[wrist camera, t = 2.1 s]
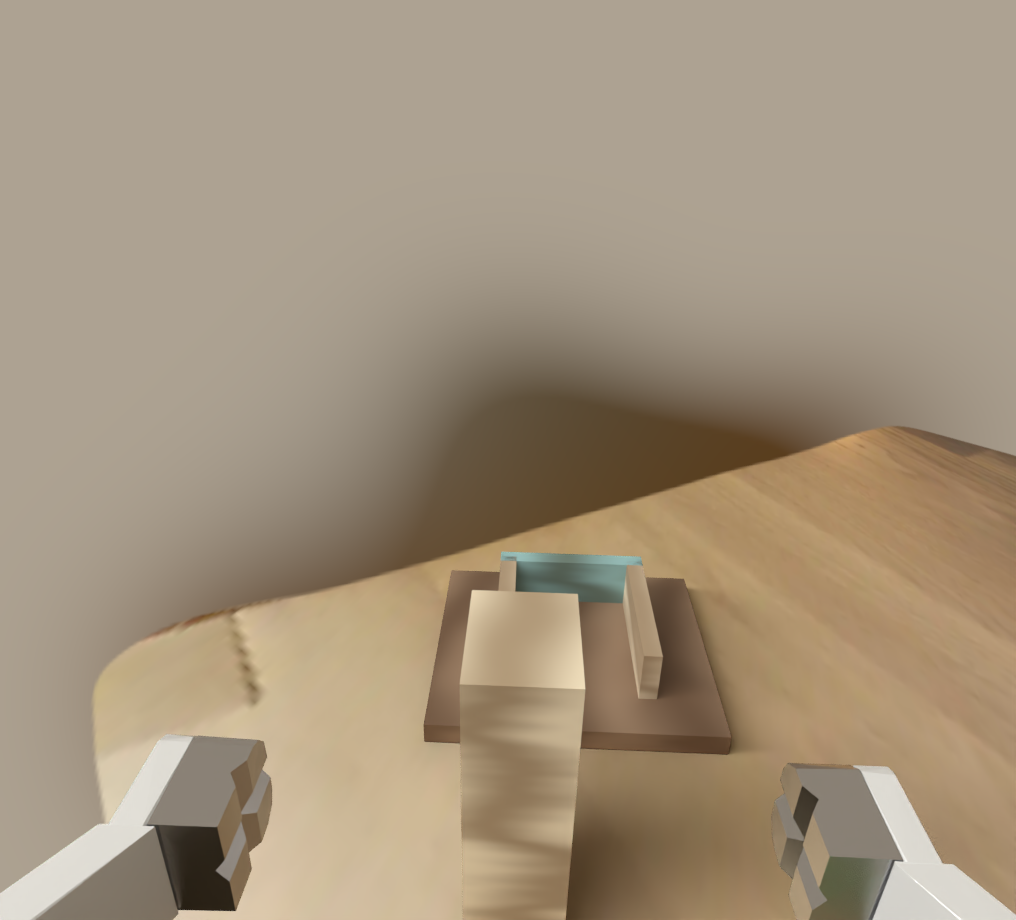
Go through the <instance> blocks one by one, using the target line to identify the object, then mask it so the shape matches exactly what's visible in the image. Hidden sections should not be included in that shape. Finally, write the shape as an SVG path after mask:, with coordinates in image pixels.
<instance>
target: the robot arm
mask: <svg viewBox="0 0 1016 920" xmlns="http://www.w3.org/2000/svg"><path fill="white" fill-rule="evenodd" d="M266 758H267V754H266V750H265V745H264V742H263V741H260V740H250V739H236V738H222V737H208V736H188V735H173V734H166V735H165V736H164V737H163V738H161V739H160V740H159V741H158V742H157V743H156V745H155V747H154V748H153V750H152V752H151V753H150V755H149V757H148V758H147V760H146V762H145V763H144V765H143V767H142V768H141V770H140V772H139V773H138V775H137V777H136V779H135V780H134V782H133V784H132V785H131V787H130V789H129V790H128V792H127V794H126V795H125V797H124V799H123V800H122V802H121V804H120V805H119V807H118V809H117V810H116V812H115V814H114V815H113V817H112V819H111V820H110V822H109V824H98V825H96V826H95V827H94V828H92V829H91V830H89V831H88V832H86V833H85V834H84V835H82V836H81V837H79V838H78V839H76V840H75V841H74V842H72V843H71V844H69V845H68V846H67V847H65V848H64V849H62V850H61V851H59V852H58V853H57V854H55V855H54V856H52V857H51V858H50V859H48V860H47V861H45V862H44V863H42V864H41V865H40V866H38V867H37V868H35V869H34V870H33V871H31V872H30V873H28V874H27V875H25V876H24V877H23V878H21V879H20V880H18V881H17V882H16V883H14V884H13V885H11V886H10V887H8V888H7V889H6V890H4V891H3V892H1V893H0V920H173V919H174V918H175V917H176V916H177V915H178V910H205V911H236V909H237V906H238V904H239V901H240V898H241V896H242V893H243V891H244V888H245V885H246V883H247V880H248V877H249V875H250V872H251V869H252V867H251V862H250V856H249V852H250V851H251V850H252V849H254V848H255V847H256V846H257V845H258V844H259V843H261V842H262V840H263V837H264V834H265V831H266V828H267V825H268V821H269V816H270V811H271V806H272V785H271V778H270V777H269V776H268V775H267V774H266V773H265V772H264V771H263V770H262V768H263V766H264V763H265V761H266ZM780 781H781V784H782V787H783V790H784V792H785V793H784V794H783V795H781V796H780V797H779V798H778V799H776V800H775V802H774V807H773V812H772V838H773V844H774V849H775V853H776V856H777V860H778V863H779V866H780V867H781V868H782V869H783V870H784V871H785V872H786V873H787V874H788V875H789V876H790V877H791V878H792V879H793V880H792V884H791V888H790V891H789V898H790V901H791V904H792V907H793V910H794V913H795V916H796V920H1016V915H1015V914H1014V913H1013V912H1012V911H1011V910H1009V909H1008V908H1007V907H1006V906H1004V905H1003V904H1002V903H1001V902H999V901H998V900H997V899H996V898H994V897H993V896H992V895H991V894H989V893H988V892H987V891H986V890H985V889H983V888H982V887H981V886H980V885H978V884H977V883H976V882H975V881H973V880H972V879H971V878H970V877H968V876H967V875H966V874H965V873H963V872H962V871H961V870H960V869H959V868H957V867H956V866H955V865H954V864H943V862H942V861H941V859H940V857H939V855H938V853H937V851H936V849H935V848H934V846H933V844H932V842H931V840H930V838H929V836H928V835H927V833H926V831H925V829H924V827H923V825H922V824H921V822H920V820H919V818H918V816H917V814H916V812H915V811H914V809H913V807H912V805H911V803H910V801H909V799H908V798H907V796H906V794H905V792H904V790H903V788H902V787H901V785H900V783H899V781H898V779H897V777H896V775H895V774H894V772H893V771H892V770H891V769H889V768H888V767H880V766H851V765H836V764H805V763H788V764H787V765H786V766H785V767H784V769H783V772H782V776H781V779H780Z"/></svg>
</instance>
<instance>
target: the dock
mask: <svg viewBox="0 0 1016 920" xmlns="http://www.w3.org/2000/svg"><path fill="white" fill-rule="evenodd" d="M472 590H487V591H513V592H540V593H567V594H578V603H579V615H580V628H581V640H582V653H583V665H584V678H585V700H584V712H583V723H582V735H581V747H580V748H594V749H618V750H642V751H666V752H689V753H713V754H728V753H729V748H730V743H731V738H732V737H731V733H730V730H729V727H728V724H727V720H726V717H725V714H724V710H723V707H722V704H721V700H720V697H719V694H718V690H717V687H716V684H715V680H714V677H713V674H712V671H711V667H710V664H709V661H708V657H707V654H706V651H705V647H704V644H703V641H702V637H701V634H700V631H699V627H698V624H697V621H696V618H695V614H694V611H693V608H692V604H691V601H690V598H689V594H688V591H687V588H686V584H685V581H684V579H673V578H645V574H644V570H643V565H642V561H641V557H634V556H606V555H578V554H550V553H522V552H501V564H500V572H481V571H454V570H452V571H451V577H450V582H449V588H448V593H447V599H446V604H445V610H444V615H443V621H442V626H441V632H440V637H439V643H438V648H437V654H436V660H435V665H434V671H433V676H432V682H431V687H430V693H429V698H428V704H427V709H426V715H425V720H424V741H428V742H452V743H460V677H461V670H462V662H463V654H464V647H465V639H466V632H467V624H468V617H469V609H470V601H471V594H472Z"/></svg>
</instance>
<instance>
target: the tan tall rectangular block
mask: <svg viewBox="0 0 1016 920" xmlns="http://www.w3.org/2000/svg"><path fill="white" fill-rule="evenodd" d="M584 700H585V678H584V665H583V653H582V640H581V628H580V615H579V603H578V594H567V593H540V592H513V591H487V590H472V594H471V601H470V609H469V617H468V624H467V632H466V639H465V647H464V654H463V662H462V670H461V677H460V756H461V832H462V908H463V920H566V909H567V897H568V886H569V874H570V863H571V851H572V839H573V828H574V816H575V805H576V793H577V781H578V770H579V758H580V747H581V735H582V723H583V712H584Z"/></svg>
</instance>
